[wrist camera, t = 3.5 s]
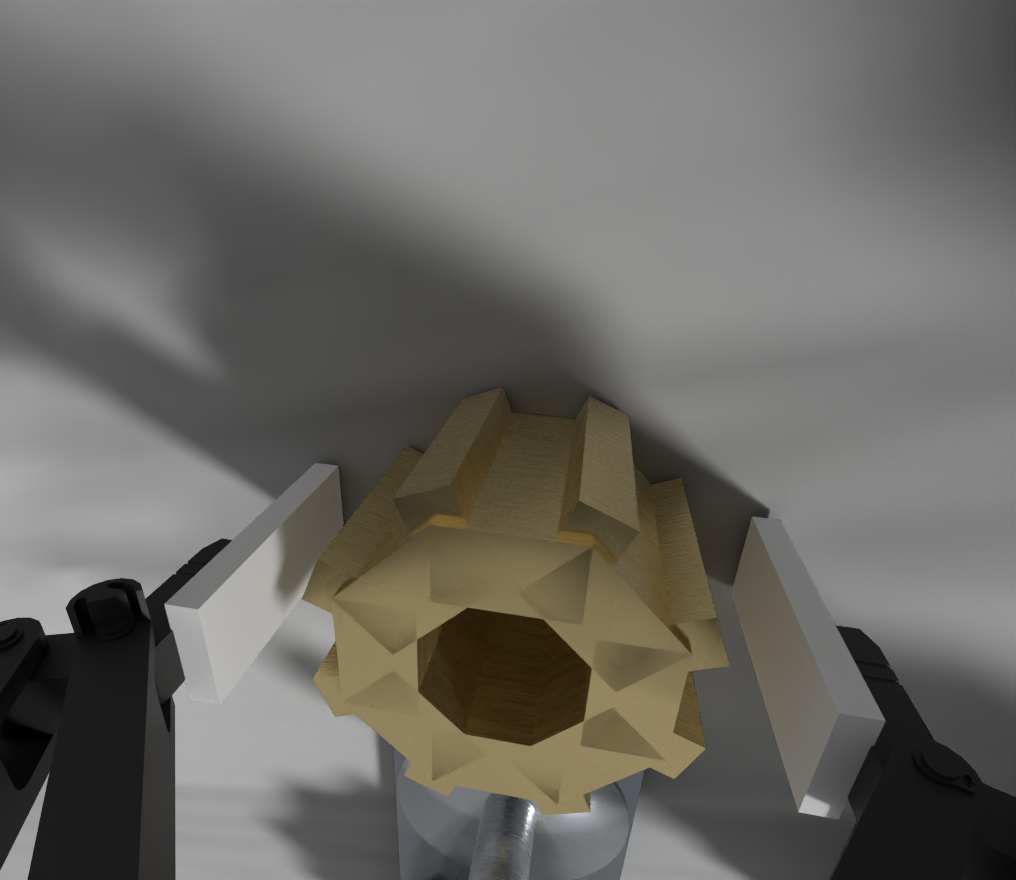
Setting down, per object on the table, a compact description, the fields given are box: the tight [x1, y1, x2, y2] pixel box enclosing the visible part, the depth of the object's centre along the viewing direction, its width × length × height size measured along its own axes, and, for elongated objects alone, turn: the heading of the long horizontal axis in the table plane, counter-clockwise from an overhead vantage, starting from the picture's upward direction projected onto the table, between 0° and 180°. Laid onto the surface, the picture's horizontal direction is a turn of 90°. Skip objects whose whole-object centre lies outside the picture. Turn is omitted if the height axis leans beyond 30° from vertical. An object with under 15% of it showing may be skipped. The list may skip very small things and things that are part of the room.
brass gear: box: [302, 387, 730, 815], centre depth 14 cm, size 9×9×6 cm
